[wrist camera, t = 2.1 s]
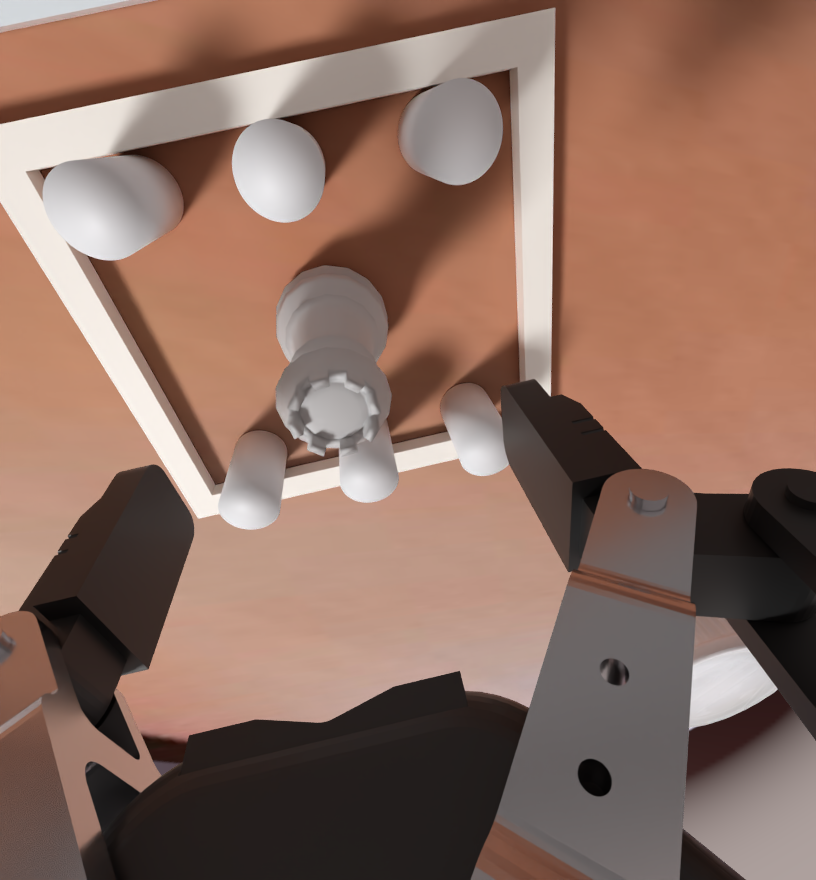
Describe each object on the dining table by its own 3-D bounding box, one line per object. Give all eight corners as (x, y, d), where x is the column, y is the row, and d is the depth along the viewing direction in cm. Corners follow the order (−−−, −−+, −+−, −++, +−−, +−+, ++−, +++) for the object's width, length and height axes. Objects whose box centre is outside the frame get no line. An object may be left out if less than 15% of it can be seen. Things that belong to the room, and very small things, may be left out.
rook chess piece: (382, 257, 18) (414, 329, 11) (390, 362, 20) (420, 473, 13) (265, 267, 17) (225, 349, 11) (288, 373, 20) (268, 493, 13)
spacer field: (202, 507, 23) (180, 569, 20) (-25, 133, 14) (-136, 132, 10) (544, 428, 23) (579, 476, 20) (544, 13, 14) (610, -24, 11)
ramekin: (635, 587, 33) (682, 655, 28) (766, 577, 35) (829, 640, 30) (589, 671, 39) (622, 738, 35) (702, 659, 41) (747, 721, 36)
